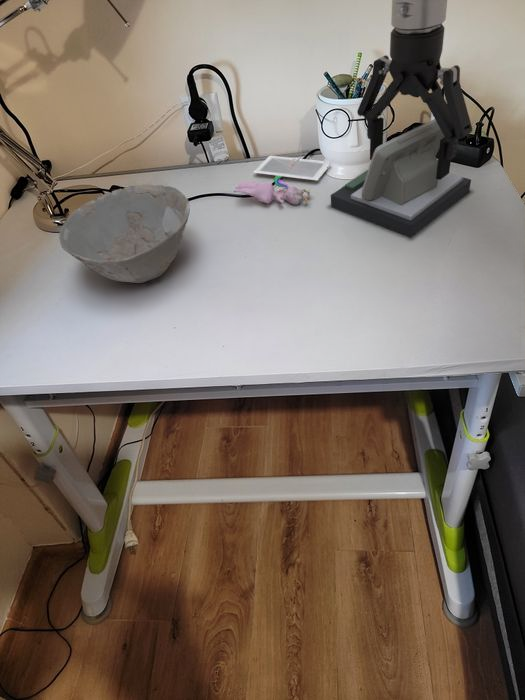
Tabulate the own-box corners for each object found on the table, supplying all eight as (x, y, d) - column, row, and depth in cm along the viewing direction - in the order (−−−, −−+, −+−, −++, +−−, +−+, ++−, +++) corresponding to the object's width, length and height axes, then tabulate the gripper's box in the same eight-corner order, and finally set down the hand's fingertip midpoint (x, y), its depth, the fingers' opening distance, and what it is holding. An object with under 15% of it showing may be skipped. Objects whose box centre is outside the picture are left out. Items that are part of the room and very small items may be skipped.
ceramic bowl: (91, 326, 82) (66, 277, 75) (75, 254, 98) (53, 208, 90) (220, 280, 86) (207, 230, 78) (184, 218, 101) (171, 171, 94)
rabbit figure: (310, 199, 102) (238, 189, 104) (313, 171, 98) (237, 161, 100) (305, 216, 98) (230, 205, 100) (307, 188, 94) (229, 177, 96)
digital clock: (426, 166, 96) (432, 108, 88) (457, 185, 90) (466, 125, 82) (351, 192, 93) (350, 135, 85) (377, 214, 87) (379, 154, 79)
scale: (469, 191, 94) (472, 175, 91) (410, 238, 86) (412, 221, 84) (389, 167, 104) (389, 152, 102) (331, 206, 97) (330, 191, 94)
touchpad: (317, 185, 103) (317, 175, 102) (253, 177, 109) (252, 167, 108) (332, 167, 108) (332, 157, 106) (270, 160, 114) (269, 150, 112)
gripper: (334, 26, 79) (338, 158, 94) (484, 43, 64) (460, 195, 79) (365, 12, 82) (364, 142, 97) (514, 25, 67) (486, 175, 82)
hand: (407, 166), depth 88 cm, fingers open, 13 cm apart
